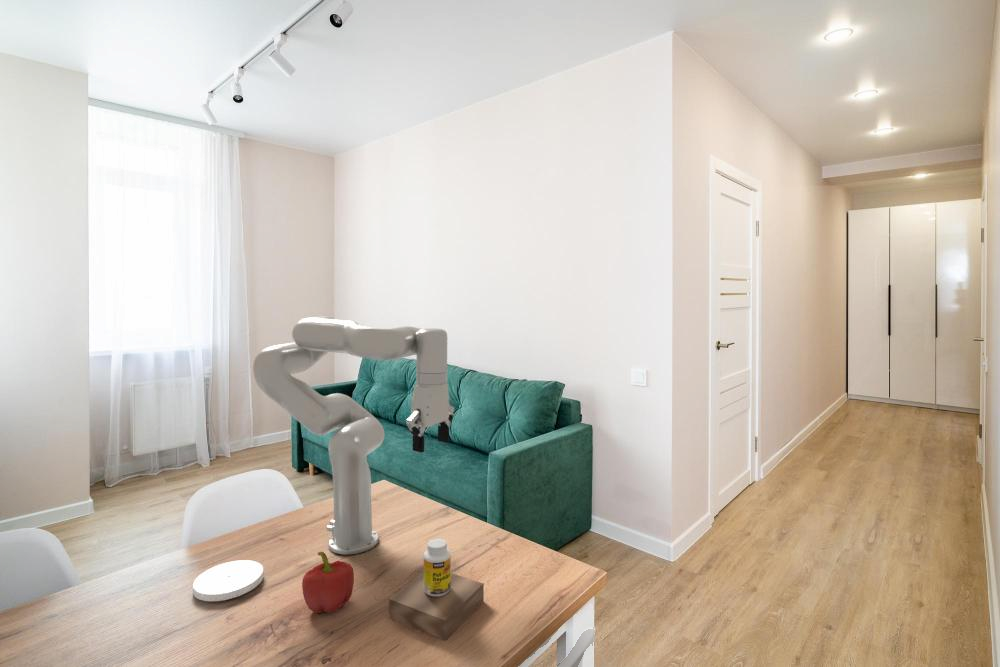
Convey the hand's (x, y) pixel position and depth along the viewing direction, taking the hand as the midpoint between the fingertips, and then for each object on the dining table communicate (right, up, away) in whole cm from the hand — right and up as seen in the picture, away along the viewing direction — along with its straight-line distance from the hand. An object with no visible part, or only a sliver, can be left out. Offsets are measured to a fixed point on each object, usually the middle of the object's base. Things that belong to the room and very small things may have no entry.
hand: (431, 446), depth 127 cm
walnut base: (+4, -29, -21) cm, 36 cm away
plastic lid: (-44, -29, -12) cm, 54 cm away
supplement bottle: (+4, -26, -21) cm, 33 cm away
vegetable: (-19, -30, -19) cm, 40 cm away
